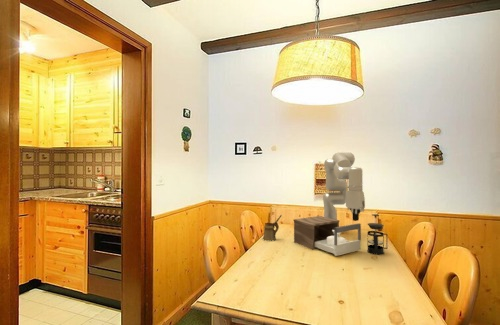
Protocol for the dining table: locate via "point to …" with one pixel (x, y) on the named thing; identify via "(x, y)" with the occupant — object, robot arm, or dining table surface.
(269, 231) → the wooden mug
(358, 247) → the pull-out tray
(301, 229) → the walnut cabinet
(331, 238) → the white tied sack
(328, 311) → the dining table surface
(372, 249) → the french press
